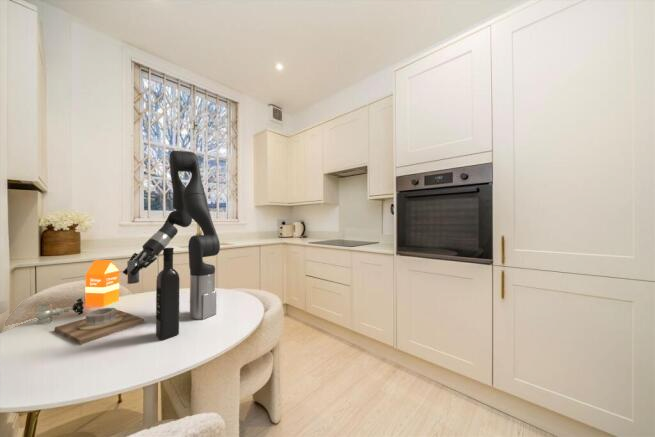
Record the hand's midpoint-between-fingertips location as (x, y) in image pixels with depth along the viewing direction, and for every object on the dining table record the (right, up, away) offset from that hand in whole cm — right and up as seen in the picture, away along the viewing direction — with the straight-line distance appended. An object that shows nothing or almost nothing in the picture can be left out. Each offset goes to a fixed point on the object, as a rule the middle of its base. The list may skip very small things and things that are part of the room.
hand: (128, 274), depth 102 cm
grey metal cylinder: (+1, -4, +2) cm, 5 cm away
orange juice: (-20, -16, +9) cm, 27 cm away
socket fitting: (+2, -16, -14) cm, 22 cm away
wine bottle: (+30, -17, -20) cm, 40 cm away
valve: (-20, -16, -8) cm, 27 cm away
